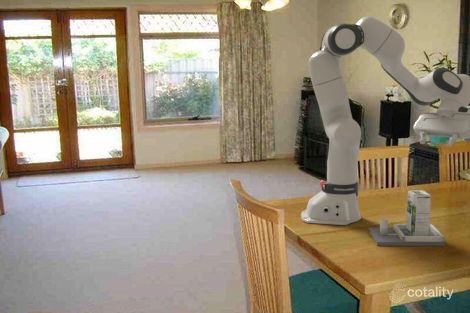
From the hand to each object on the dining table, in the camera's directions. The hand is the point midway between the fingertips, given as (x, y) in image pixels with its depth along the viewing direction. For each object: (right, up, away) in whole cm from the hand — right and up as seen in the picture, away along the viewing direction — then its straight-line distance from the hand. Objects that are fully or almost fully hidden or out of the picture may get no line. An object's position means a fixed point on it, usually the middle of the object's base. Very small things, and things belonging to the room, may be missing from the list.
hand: (434, 144), depth 163 cm
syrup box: (-9, -30, -7) cm, 33 cm away
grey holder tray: (-13, -31, -7) cm, 35 cm away
